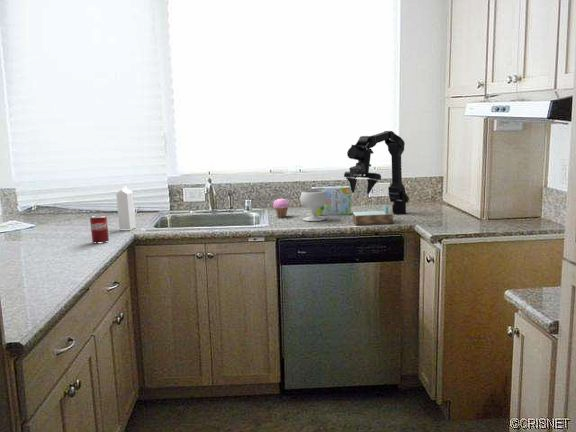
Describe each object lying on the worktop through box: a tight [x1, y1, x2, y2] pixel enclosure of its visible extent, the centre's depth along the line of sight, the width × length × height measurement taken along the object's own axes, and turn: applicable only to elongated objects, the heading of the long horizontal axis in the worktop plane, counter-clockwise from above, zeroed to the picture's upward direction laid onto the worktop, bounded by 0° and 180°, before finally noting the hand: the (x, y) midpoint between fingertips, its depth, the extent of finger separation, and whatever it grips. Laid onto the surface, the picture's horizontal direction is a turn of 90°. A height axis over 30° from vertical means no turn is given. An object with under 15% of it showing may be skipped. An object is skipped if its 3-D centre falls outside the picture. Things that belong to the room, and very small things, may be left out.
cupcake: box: [272, 198, 290, 218], centre depth 318 cm, size 9×9×10 cm
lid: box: [352, 204, 391, 217], centre depth 291 cm, size 17×10×4 cm, turn 91°
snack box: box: [310, 185, 352, 216], centre depth 319 cm, size 21×6×15 cm, turn 84°
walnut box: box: [352, 210, 394, 226], centre depth 292 cm, size 18×12×5 cm, turn 91°
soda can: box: [89, 214, 110, 243], centre depth 269 cm, size 7×7×12 cm
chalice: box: [299, 189, 327, 222], centre depth 305 cm, size 14×14×15 cm
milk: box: [115, 185, 137, 230], centre depth 297 cm, size 6×6×22 cm
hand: (360, 193), depth 289 cm, fingers open, 9 cm apart
